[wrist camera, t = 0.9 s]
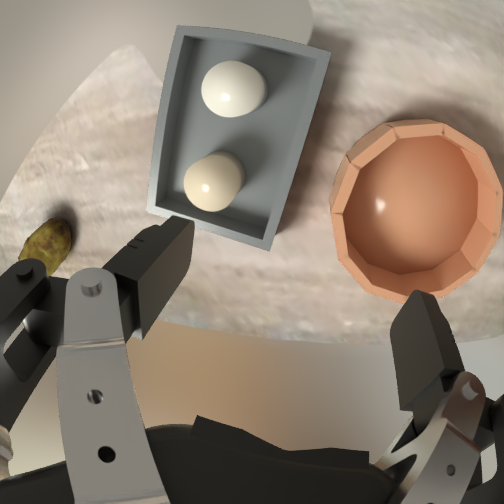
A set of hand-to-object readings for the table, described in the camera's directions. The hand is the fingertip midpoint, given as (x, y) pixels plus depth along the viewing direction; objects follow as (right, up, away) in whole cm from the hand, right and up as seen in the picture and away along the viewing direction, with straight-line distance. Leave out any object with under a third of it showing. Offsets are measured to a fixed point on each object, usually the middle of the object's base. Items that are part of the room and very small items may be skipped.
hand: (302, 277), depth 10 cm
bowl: (+15, +6, +17) cm, 24 cm away
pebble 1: (-3, +16, +15) cm, 22 cm away
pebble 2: (-5, +9, +19) cm, 22 cm away
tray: (-4, +13, +18) cm, 22 cm away
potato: (-34, +3, +32) cm, 47 cm away
